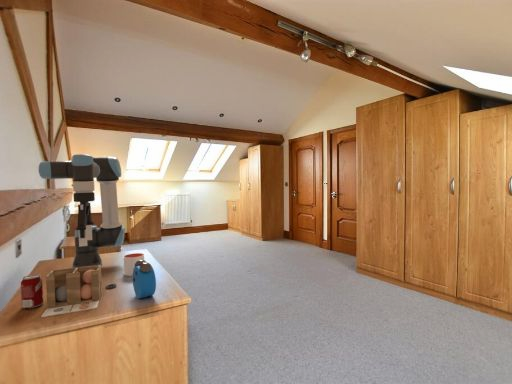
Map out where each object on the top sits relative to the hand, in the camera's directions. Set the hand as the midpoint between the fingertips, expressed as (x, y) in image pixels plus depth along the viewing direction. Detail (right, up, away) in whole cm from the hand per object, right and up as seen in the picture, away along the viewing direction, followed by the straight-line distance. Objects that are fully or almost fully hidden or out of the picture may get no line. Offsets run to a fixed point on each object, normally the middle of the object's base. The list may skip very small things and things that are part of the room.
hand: (86, 243), depth 120 cm
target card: (0, -24, -9) cm, 26 cm away
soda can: (-18, -24, -6) cm, 31 cm away
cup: (+6, -23, +33) cm, 41 cm away
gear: (+3, -23, +14) cm, 27 cm away
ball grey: (-7, -20, -3) cm, 22 cm away
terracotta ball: (+1, -20, -1) cm, 20 cm away
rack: (-3, -24, -1) cm, 24 cm away
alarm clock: (+24, -23, +1) cm, 33 cm away
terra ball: (+1, -15, +2) cm, 15 cm away
